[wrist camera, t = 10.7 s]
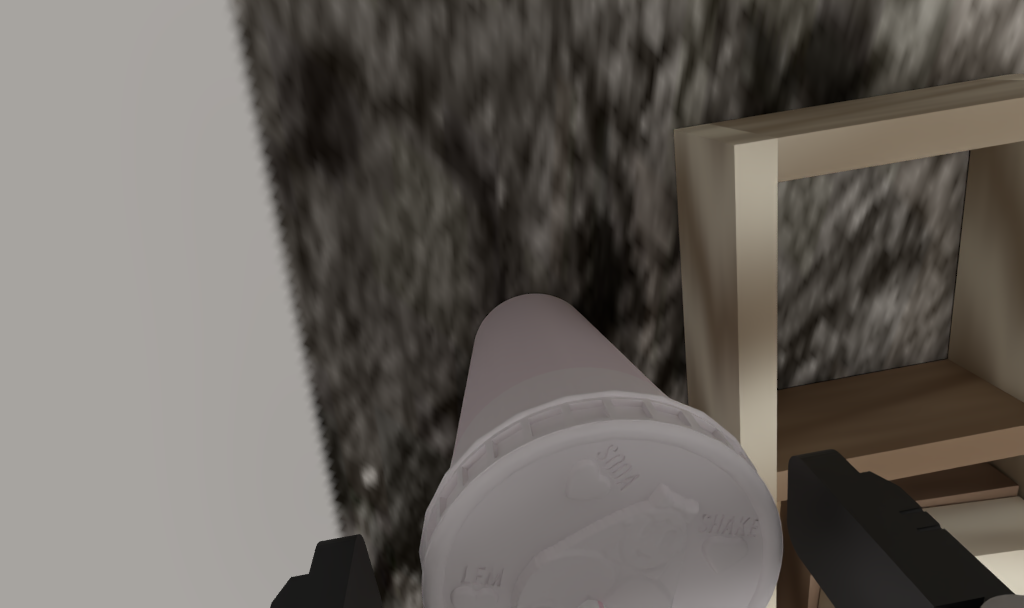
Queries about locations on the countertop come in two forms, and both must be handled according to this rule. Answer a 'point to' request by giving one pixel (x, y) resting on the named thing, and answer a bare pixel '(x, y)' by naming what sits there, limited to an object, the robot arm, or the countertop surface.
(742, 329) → the offcut rack
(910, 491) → the block
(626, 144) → the countertop surface
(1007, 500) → the offcut top
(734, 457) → the smoothie
